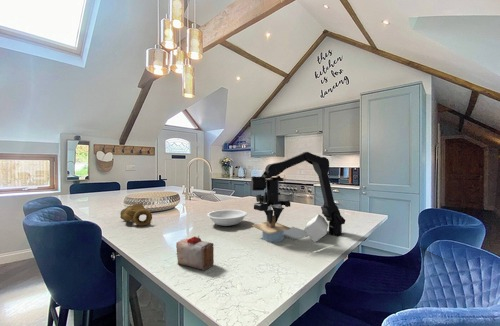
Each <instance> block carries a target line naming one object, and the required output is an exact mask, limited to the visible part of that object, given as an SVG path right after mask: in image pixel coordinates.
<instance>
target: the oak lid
mask: <svg viewBox="0 0 500 326" xmlns="http://www.w3.org/2000/svg"><path fill="white" fill-rule="evenodd" d="M275 219H276V216H274V215H273V217H272V223H271V224H270V223H269V221H268V218H267V217H266V221H265V222H260V223H255V224H251V226H252V227H253V228H255V229H258V230H260V231H264V232H266V233H268V234H272V233H276V232H280V231H284V230H288V229H290V227H291V226H290V227H289V226H288V225H285V224H282V223H280V222H279V223H278V221H277V222H276V223H275Z"/></svg>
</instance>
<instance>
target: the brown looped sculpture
mask: <svg viewBox="0 0 500 326" xmlns="http://www.w3.org/2000/svg"><path fill="white" fill-rule="evenodd" d="M142 215H145V216H146V217H145V219H144V220H140V217H141V216H142ZM119 217H120V219H121V220H123V221H124V222H126V223H128V222H130V221H131V222H134V224H135V225H136V226H140V227H146V226H148V225H149V224H150V223H151V222H152V219H153V214H152V212H151V211H150V210H149V209H146V208H145V206H144V205H143V203H136V204H133V205H128V206H127V207H125V208H124V209H122V210H121V211H120V216H119Z"/></svg>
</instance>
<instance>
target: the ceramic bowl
mask: <svg viewBox="0 0 500 326" xmlns="http://www.w3.org/2000/svg"><path fill="white" fill-rule="evenodd" d="M261 237H262V240H263V241H265V242H269V243H280V242H282V241H284V238H285V237H284V231H280V232H276V233H272V234H268V233H266V232H264V231H262V236H261Z"/></svg>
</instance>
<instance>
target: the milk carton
mask: <svg viewBox="0 0 500 326" xmlns="http://www.w3.org/2000/svg"><path fill="white" fill-rule="evenodd" d="M303 230H304V231H305V232H306V233H307V235H308V237H309V238H310V239H311V241H313V242H314V243H316V242H318V241H319V240H321V239H322V238H323V237H324V236H326V235H327V233H328V230H329V222H328V221H327V219H326V218H325V217H324V216H322V215H321V214H319V213H318V214H317V215H316V216H315V215H314V217H313V218H312V219H310V220H309V221H308V222H307V224H306V226H305V227H304V229H303Z"/></svg>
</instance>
